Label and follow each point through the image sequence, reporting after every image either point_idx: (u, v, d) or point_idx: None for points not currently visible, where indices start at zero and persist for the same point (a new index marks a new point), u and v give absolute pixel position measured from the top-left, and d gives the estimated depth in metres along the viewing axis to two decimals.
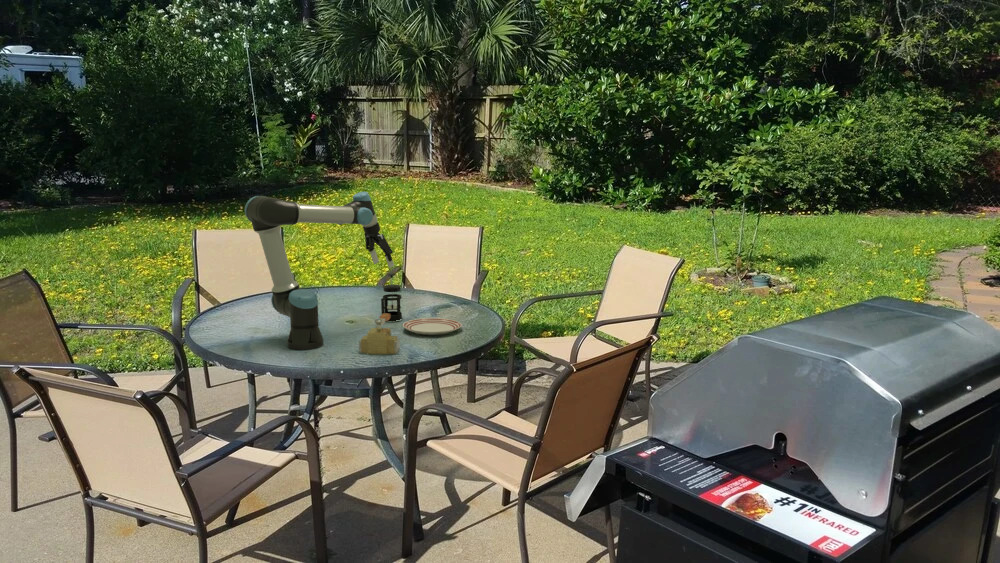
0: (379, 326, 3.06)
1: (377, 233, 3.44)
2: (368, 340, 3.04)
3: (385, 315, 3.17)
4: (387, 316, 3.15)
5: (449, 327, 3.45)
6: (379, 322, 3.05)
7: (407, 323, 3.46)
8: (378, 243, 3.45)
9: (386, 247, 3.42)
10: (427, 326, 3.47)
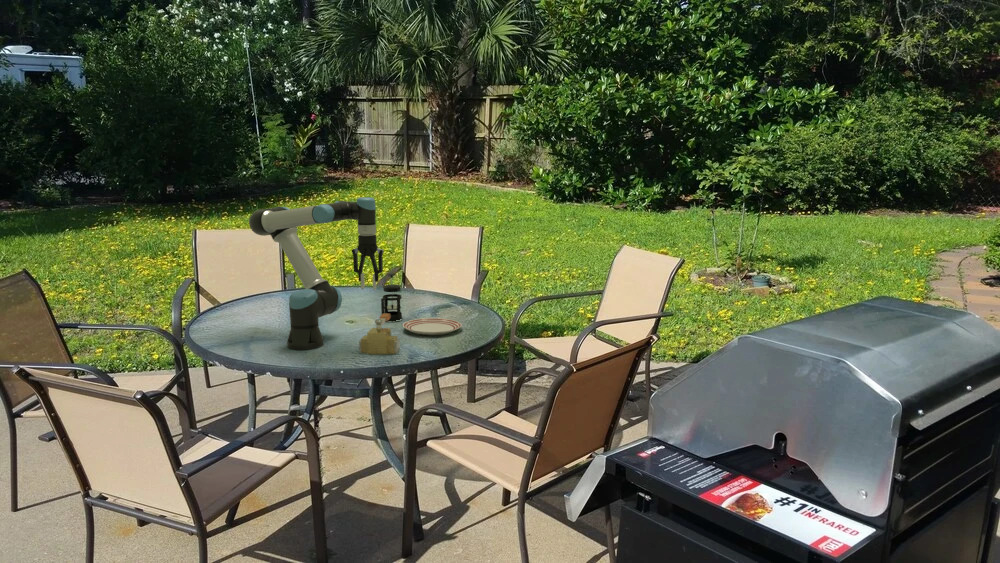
0: (379, 326, 3.06)
1: None
2: (368, 340, 3.04)
3: (385, 315, 3.17)
4: (387, 316, 3.15)
5: (449, 327, 3.45)
6: (379, 322, 3.05)
7: (407, 323, 3.46)
8: None
9: None
10: (427, 326, 3.47)
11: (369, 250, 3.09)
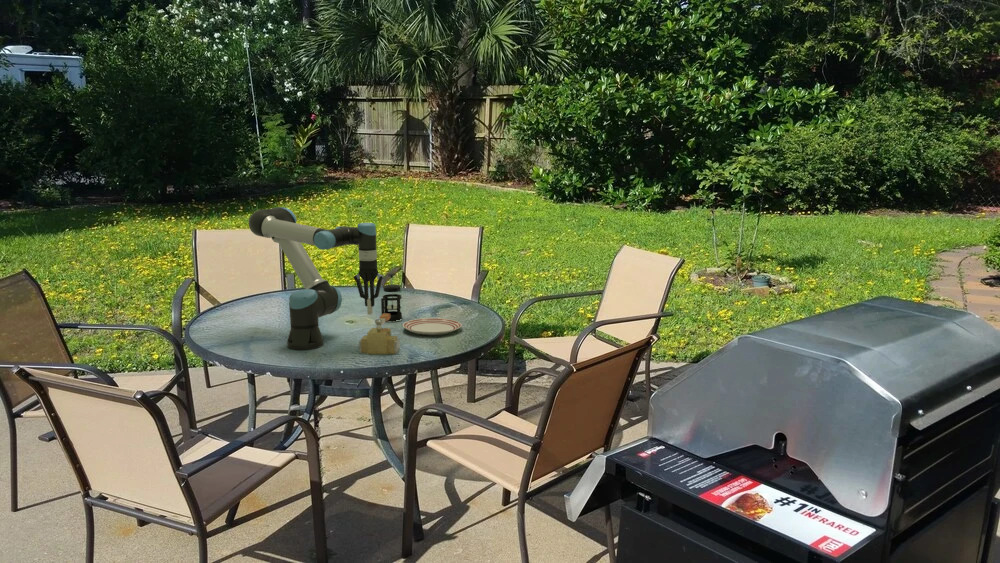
0: (379, 326, 3.06)
1: None
2: (368, 340, 3.04)
3: (385, 315, 3.17)
4: (387, 316, 3.15)
5: (449, 327, 3.45)
6: (379, 322, 3.05)
7: (407, 323, 3.46)
8: None
9: None
10: (427, 326, 3.47)
11: (370, 275, 3.11)
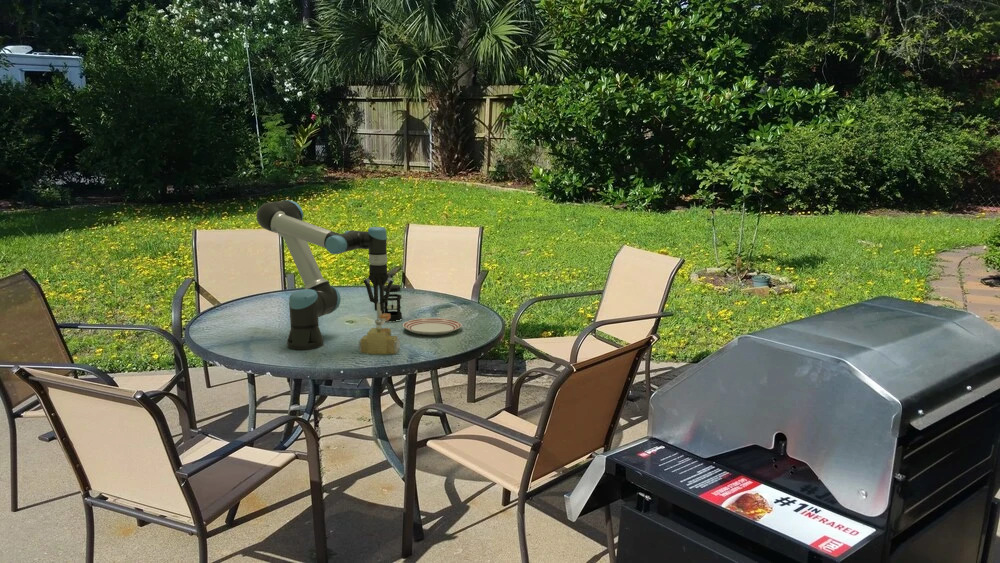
0: (379, 326, 3.06)
1: None
2: (368, 340, 3.04)
3: (385, 315, 3.17)
4: (387, 316, 3.15)
5: (449, 327, 3.45)
6: (379, 322, 3.05)
7: (407, 323, 3.46)
8: None
9: None
10: (427, 326, 3.47)
11: (380, 279, 3.11)
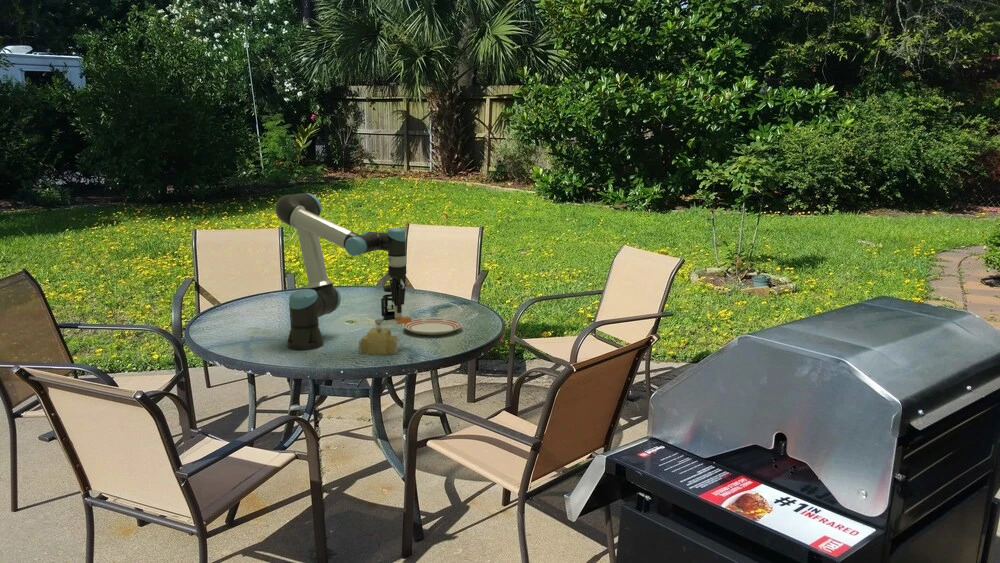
0: (377, 326, 3.06)
1: None
2: (368, 340, 3.04)
3: (401, 318, 3.12)
4: (399, 319, 3.10)
5: (449, 327, 3.45)
6: (376, 322, 3.05)
7: (407, 323, 3.46)
8: None
9: None
10: (427, 326, 3.47)
11: (394, 281, 3.08)
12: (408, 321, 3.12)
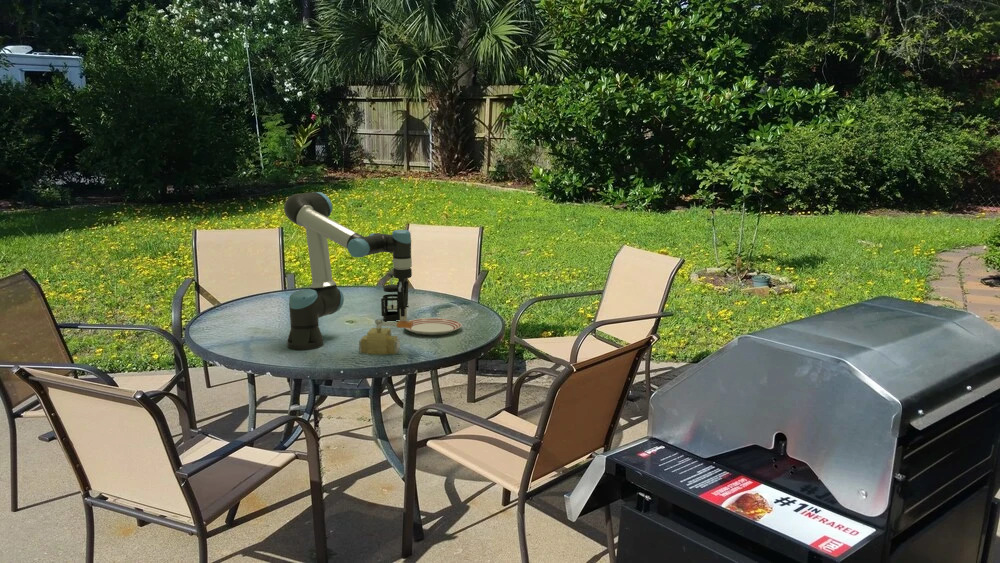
0: None
1: None
2: (368, 340, 3.04)
3: (403, 322, 3.05)
4: (398, 322, 3.04)
5: (449, 327, 3.45)
6: (375, 321, 3.06)
7: None
8: (406, 290, 3.07)
9: None
10: (427, 326, 3.47)
11: None
12: (408, 326, 3.04)
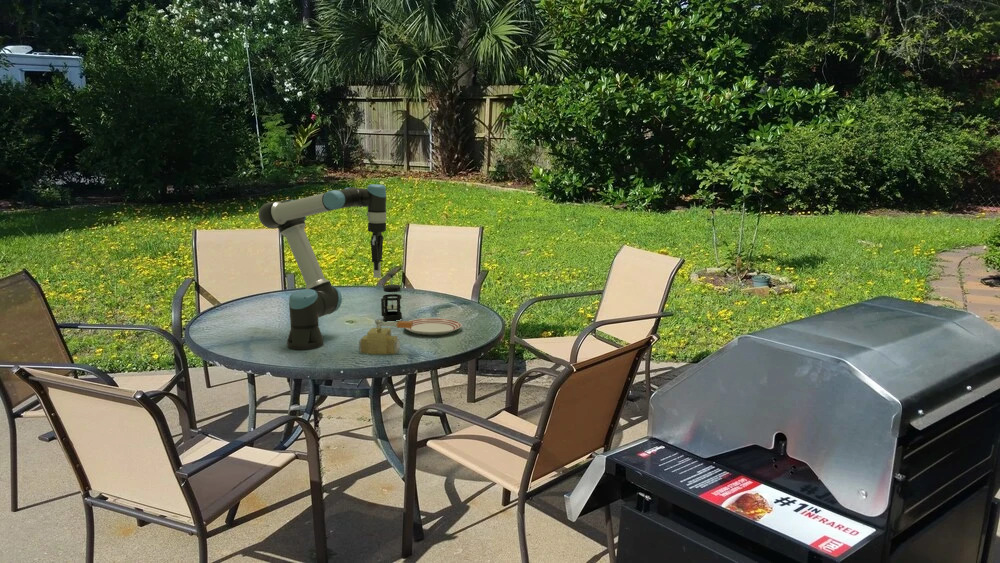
0: None
1: None
2: (368, 340, 3.04)
3: (403, 322, 3.05)
4: (398, 322, 3.04)
5: (449, 327, 3.45)
6: (375, 321, 3.06)
7: None
8: (381, 245, 3.11)
9: None
10: (427, 326, 3.47)
11: None
12: (408, 326, 3.04)
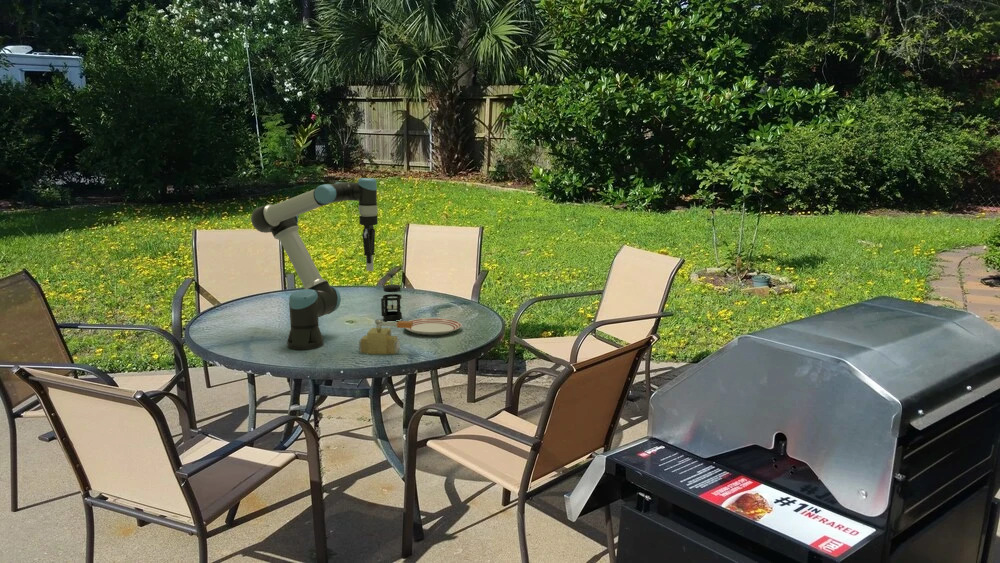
0: None
1: None
2: (368, 340, 3.04)
3: (403, 322, 3.05)
4: (398, 322, 3.04)
5: (449, 327, 3.45)
6: (375, 321, 3.06)
7: None
8: (373, 238, 3.13)
9: None
10: (427, 326, 3.47)
11: None
12: (408, 326, 3.04)
